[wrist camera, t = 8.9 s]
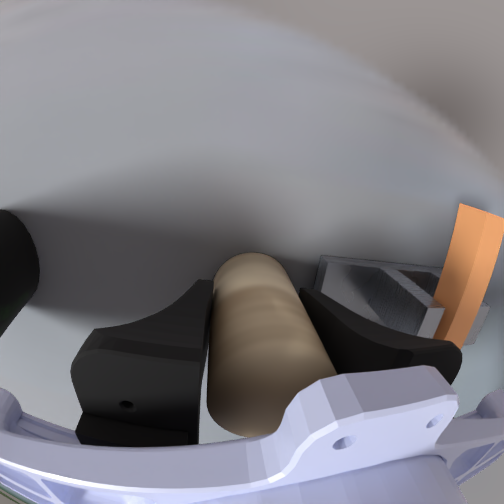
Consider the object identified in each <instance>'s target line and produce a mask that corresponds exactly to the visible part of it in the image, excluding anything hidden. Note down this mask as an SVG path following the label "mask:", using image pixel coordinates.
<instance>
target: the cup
mask: <svg viewBox="0 0 504 504" xmlns="http://www.w3.org/2000/svg"><path fill="white" fill-rule="evenodd" d="M38 282H39V261H38V256H37V252H36V248H35V245H34V243H33V241H32V238H31V236H30V234H29V233H28V231H27V229H26V228H25V226H24V225H23V223H22V222H21V221H20V220H19V219H18V218H17V217H16V216H14V215H13V214H11V213H10V212H8V211H5V210H0V337H1V336H2V334H3V333H4V332H5V330H6V329H7V328H8V326H9V325H10V324H11V322H12V321H13V320H14V318H15V317H16V316H17V314H18V313H19V312H20V311H21V309H22V308H23V307H24V306H25V304H26V303H27V302H28V301H29V300H30V298H31V297H32V296H33V294H34V293H35V291H36V289H37V286H38Z"/></svg>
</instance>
